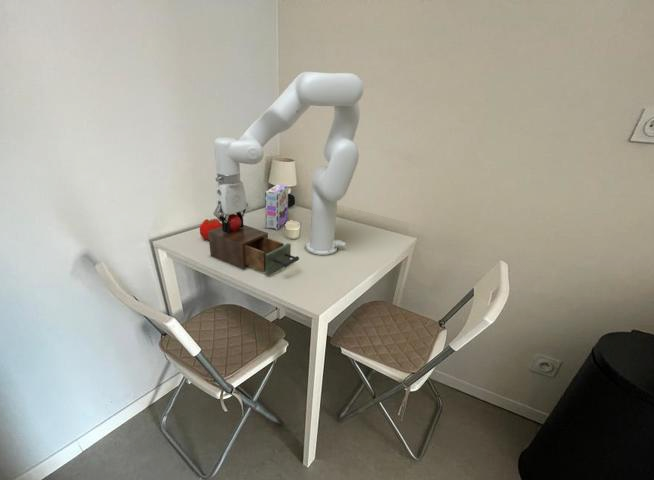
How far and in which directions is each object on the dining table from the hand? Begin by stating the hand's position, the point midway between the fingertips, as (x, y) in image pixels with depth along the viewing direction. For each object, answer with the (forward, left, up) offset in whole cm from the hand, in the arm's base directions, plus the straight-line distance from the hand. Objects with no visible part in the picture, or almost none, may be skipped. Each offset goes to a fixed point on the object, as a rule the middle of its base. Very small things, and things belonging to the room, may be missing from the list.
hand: (233, 229), depth 125 cm
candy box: (-13, -34, -10) cm, 38 cm away
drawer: (-14, +10, -9) cm, 19 cm away
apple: (0, 0, 0) cm, 0 cm away
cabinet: (-2, +1, -10) cm, 11 cm away
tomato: (+12, -14, -10) cm, 21 cm away
